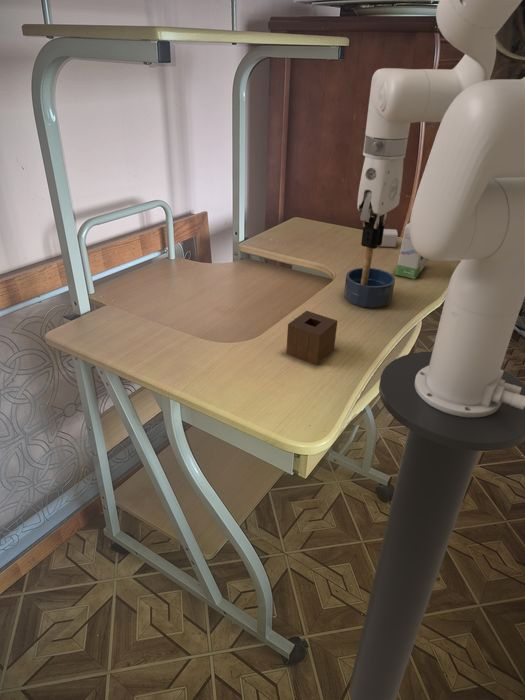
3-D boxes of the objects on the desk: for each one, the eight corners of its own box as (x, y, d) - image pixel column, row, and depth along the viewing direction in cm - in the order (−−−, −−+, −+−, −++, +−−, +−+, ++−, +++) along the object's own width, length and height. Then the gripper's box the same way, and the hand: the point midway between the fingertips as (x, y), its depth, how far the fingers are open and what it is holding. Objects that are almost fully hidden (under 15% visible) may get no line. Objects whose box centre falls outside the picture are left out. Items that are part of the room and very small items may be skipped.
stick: (367, 292, 105) (379, 217, 96) (364, 294, 104) (376, 219, 95) (360, 290, 106) (373, 216, 97) (358, 292, 105) (370, 217, 96)
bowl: (398, 296, 108) (402, 275, 105) (379, 314, 101) (383, 291, 98) (356, 284, 113) (359, 264, 110) (335, 300, 105) (338, 278, 103)
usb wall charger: (395, 248, 133) (397, 233, 131) (369, 246, 134) (371, 232, 132) (393, 243, 136) (395, 228, 134) (368, 241, 137) (370, 227, 135)
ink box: (404, 263, 124) (413, 216, 118) (425, 267, 122) (435, 220, 116) (394, 275, 118) (403, 226, 111) (416, 280, 116) (426, 230, 109)
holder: (334, 350, 89) (337, 320, 85) (317, 365, 84) (319, 335, 81) (304, 339, 92) (306, 310, 88) (286, 353, 87) (287, 323, 84)
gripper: (387, 156, 82) (372, 261, 92) (420, 143, 93) (403, 239, 103) (346, 150, 86) (336, 252, 96) (382, 139, 97) (370, 231, 106)
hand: (371, 244), depth 99 cm, fingers closed on stick, 1 cm apart
